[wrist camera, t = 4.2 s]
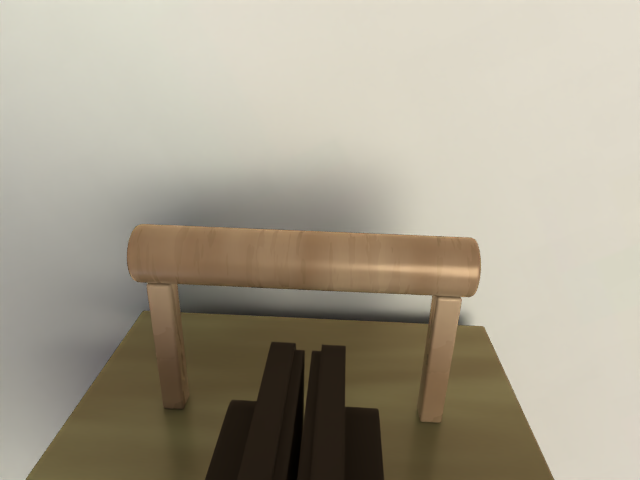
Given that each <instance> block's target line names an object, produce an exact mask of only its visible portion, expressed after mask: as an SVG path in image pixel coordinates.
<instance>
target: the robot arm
mask: <svg viewBox="0 0 640 480" xmlns="http://www.w3.org/2000/svg"><path fill="white" fill-rule="evenodd" d="M345 366H346V346H341V345H323V344H322V348H321V351H313V350H312V354H311V363H310V372H309V380H308V389H307V398H306V406H305V415H304V369H305V350H296V343H287V342H271V345H270V349H269V353H268V357H267V361H266V365H265V369H264V373H263V377H262V381H261V385H260V389H259V393H258V397H257V401H247V400H231V401H230V403H229V406H228V409H227V412H226V415H225V418H224V421H223V424H222V427H221V431H220V434H219V437H218V440H217V443H216V446H215V449H214V453H213V456H212V459H211V462H210V465H209V468H208V471H207V475H206V478H205V480H384V470H383V457H382V444H381V431H380V418H379V410H378V409H377V408H361V407H345ZM303 423H304V424H303Z"/></svg>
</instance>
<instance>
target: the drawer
mask: <svg viewBox="0 0 640 480" xmlns="http://www.w3.org/2000/svg"><path fill="white" fill-rule="evenodd" d="M127 265H128V270H129V273H130V276H131V277H132V279H133V280H135V281H137V282H143V283H148V284H147V293H148V300H149V308H150V311H143V312H142V313H141V314H140V316H139V317H138V319H137V320H136V322H135V323H134V324H133V326H132V327H131V329H130V330H129V332H128V333H127V334H126V336H125V337H124V339H123V340H122V342H121V343H120V345H119V346H118V347H117V349H116V350H115V352H114V353H113V355H112V356H111V357H110V359H109V360H108V362H107V363H106V365H105V366H104V368H103V369H102V370H101V372H100V373H99V375H98V376H97V378H96V379H95V380H94V382H93V383H92V385H91V386H90V388H89V389H88V390H87V392H86V393H85V395H84V396H83V398H82V399H81V401H80V402H79V403H78V405H77V406H76V408H75V409H74V411H73V412H72V413H71V415H70V416H69V418H68V419H67V421H66V422H65V424H64V425H63V426H62V428H61V429H60V431H59V432H58V434H57V435H56V436H55V438H54V439H53V441H52V442H51V444H50V445H49V447H48V448H47V449H46V451H45V452H44V454H43V455H42V457H41V458H40V459H39V461H38V462H37V464H36V465H35V467H34V468H33V469H32V471H31V472H30V474H29V475H28V477H27V478H26V480H205V478H206V475H207V471H208V468H209V465H210V462H211V459H212V456H213V453H214V449H215V446H216V443H217V440H218V437H219V434H220V431H221V427H222V424H223V421H224V418H225V415H226V412H227V409H228V406H229V403H230V401H231V400H247V401H257V397H258V393H259V389H260V385H261V381H262V377H263V373H264V369H265V365H266V361H267V357H268V353H269V349H270V345H271V342H287V343H296V350H305V369H304V415H305V406H306V398H307V389H308V380H309V372H310V363H311V354H312V350H313V351H321V348H322V344H323V345H341V346H346V366H345V407H361V408H377V409H378V410H379V418H380V431H381V444H382V457H383V470H384V480H554V478H553V476H552V474H551V472H550V469H549V467H548V465H547V463H546V461H545V458H544V456H543V454H542V452H541V450H540V448H539V445H538V443H537V441H536V439H535V437H534V435H533V432H532V430H531V428H530V426H529V424H528V421H527V419H526V417H525V415H524V413H523V411H522V408H521V406H520V404H519V402H518V400H517V398H516V395H515V393H514V391H513V389H512V387H511V384H510V382H509V380H508V378H507V376H506V374H505V371H504V369H503V367H502V365H501V363H500V361H499V358H498V356H497V354H496V352H495V350H494V347H493V345H492V343H491V341H490V339H489V337H488V334H487V332H486V330H485V328H484V327H483V326H464V325H458V320H459V314H460V308H461V302H462V299H461V297H471V296H473V295H474V294H475V293H476V291H477V288H478V285H479V280H480V273H481V258H480V251H479V247H478V244H477V242H476V240H475V239H473V238H469V237H444V236H420V235H396V234H371V233H347V232H323V231H298V230H274V229H250V228H225V227H201V226H177V225H152V224H140V225H138V226H136V227H135V228H134V230H133V231H132V233H131V236H130V238H129V242H128V248H127ZM178 284H188V285H210V286H233V287H255V288H277V289H300V290H322V291H344V292H367V293H389V294H411V295H432V302H431V310H430V317H429V324H421V323H400V322H378V321H357V320H336V319H314V318H293V317H271V316H250V315H228V314H207V313H185V312H180V303H179V294H178ZM303 424H304V423H303Z"/></svg>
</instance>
